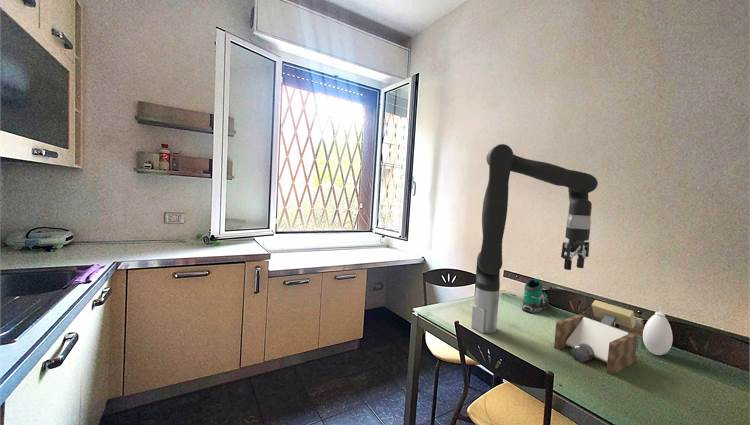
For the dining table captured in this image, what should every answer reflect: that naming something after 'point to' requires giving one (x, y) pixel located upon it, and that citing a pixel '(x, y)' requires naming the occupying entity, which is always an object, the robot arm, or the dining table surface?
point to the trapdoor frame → (619, 349)
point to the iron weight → (582, 352)
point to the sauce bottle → (658, 334)
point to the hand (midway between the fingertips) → (573, 268)
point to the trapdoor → (602, 328)
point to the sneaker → (534, 297)
